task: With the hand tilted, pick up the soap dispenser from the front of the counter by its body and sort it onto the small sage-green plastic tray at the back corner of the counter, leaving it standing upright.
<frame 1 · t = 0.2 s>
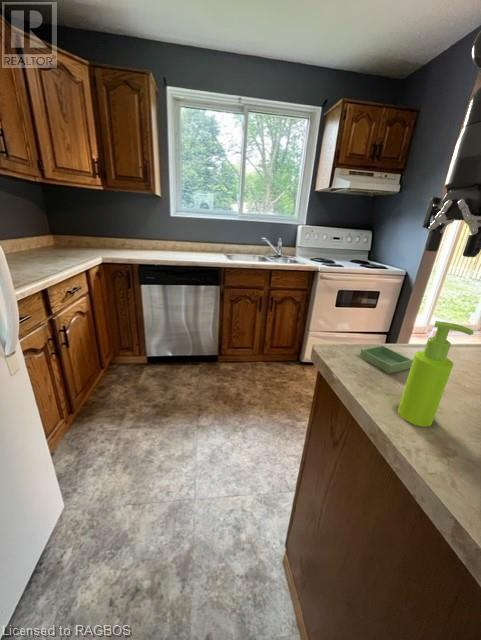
hand: (448, 253, 52), 31 cm above the countertop, tool pointing down, fingers open, 8 cm apart
green tray: (384, 362, 75), on the countertop
soap dispenser: (417, 418, 54), on the countertop
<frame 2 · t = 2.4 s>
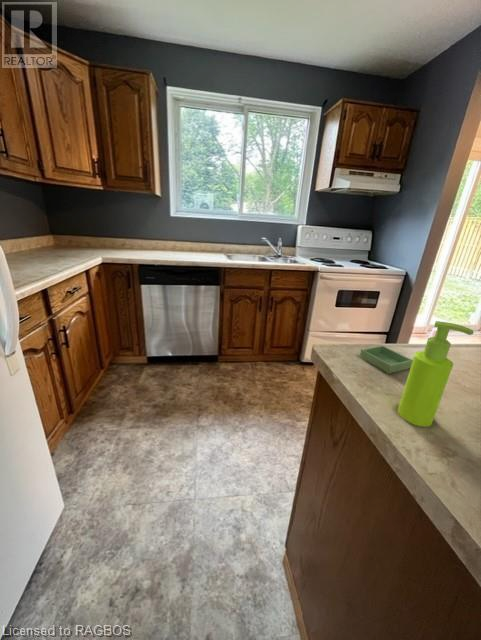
nothing on the countertop moved.
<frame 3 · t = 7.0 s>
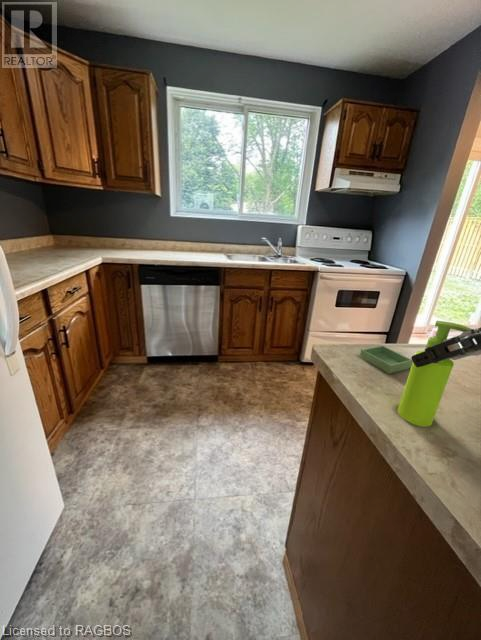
hand: (426, 359, 51), 12 cm above the countertop, tool tilted 45°, fingers closed on soap dispenser, 6 cm apart
soap dispenser: (417, 418, 54), on the countertop, touching gripper
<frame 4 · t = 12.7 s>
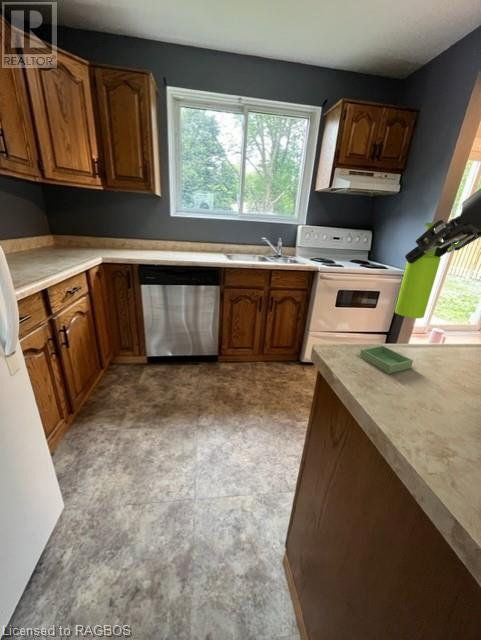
hand: (418, 259, 59), 29 cm above the countertop, tool tilted 45°, fingers closed on soap dispenser, 6 cm apart
soap dispenser: (411, 315, 62), point 16 cm above the countertop, touching gripper
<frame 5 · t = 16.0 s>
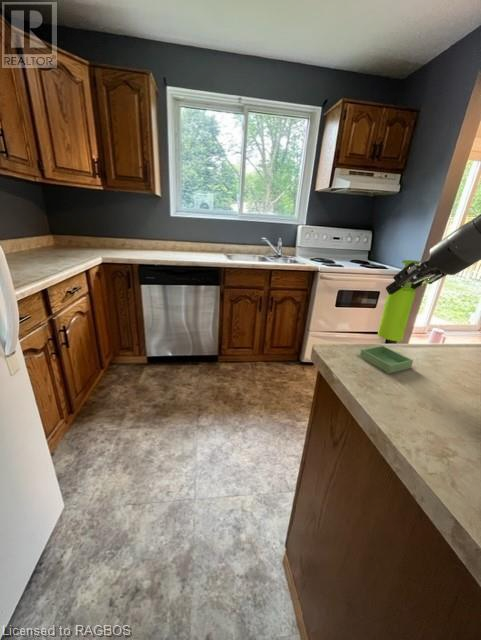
hand: (397, 290, 69), 20 cm above the countertop, tool tilted 45°, fingers closed on soap dispenser, 6 cm apart
soap dispenser: (391, 337, 72), point 8 cm above the countertop, touching gripper
when the fingers open (13 cm above the countertop, at t = 18.6 s): soap dispenser stays where it is, resting on green tray.
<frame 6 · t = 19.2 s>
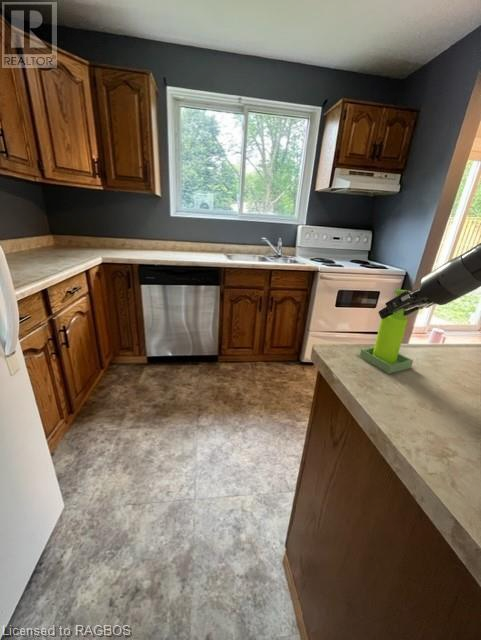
hand: (392, 313, 71), 14 cm above the countertop, tool tilted 45°, fingers open, 8 cm apart
soap dispenser: (385, 362, 74), resting on green tray
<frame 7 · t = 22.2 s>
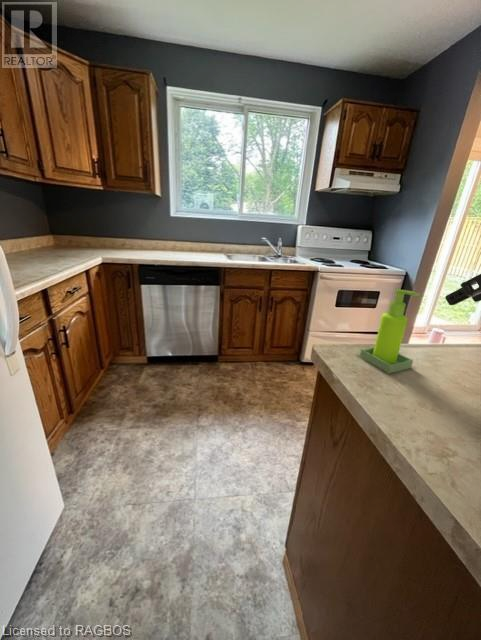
hand: (460, 299, 56), 22 cm above the countertop, tool tilted 45°, fingers open, 8 cm apart
nothing on the countertop moved.
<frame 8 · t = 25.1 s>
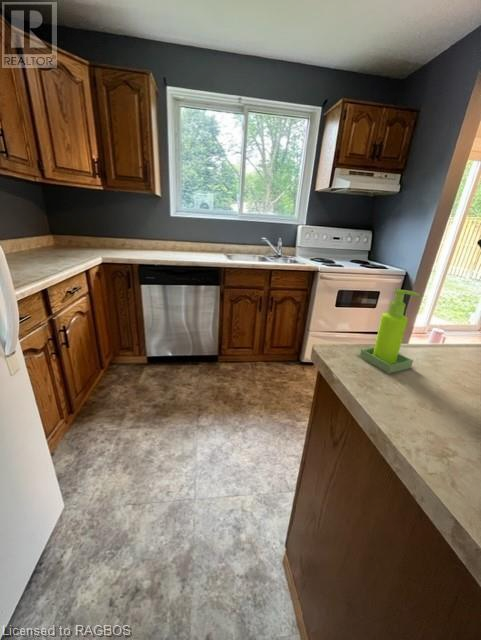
nothing on the countertop moved.
at the end: soap dispenser 0.2 cm off-centre in the green tray, point 0.3 cm above the green tray's base; soap dispenser tilted 0°; the gripper is holding nothing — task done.
